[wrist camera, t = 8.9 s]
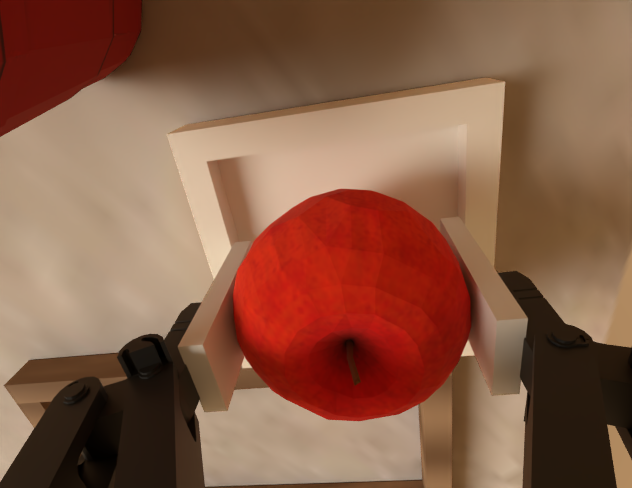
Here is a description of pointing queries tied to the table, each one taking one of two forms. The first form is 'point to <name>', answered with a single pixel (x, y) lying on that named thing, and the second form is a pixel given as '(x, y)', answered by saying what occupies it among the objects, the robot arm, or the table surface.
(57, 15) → the plastic cup
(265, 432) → the table surface
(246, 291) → the apple
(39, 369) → the pocket frame
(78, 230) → the table surface
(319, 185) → the dish
